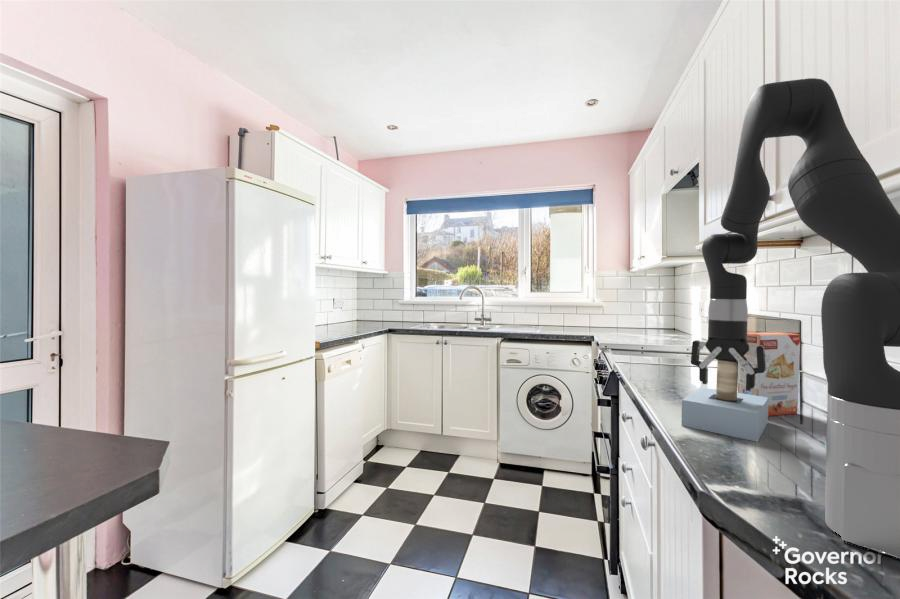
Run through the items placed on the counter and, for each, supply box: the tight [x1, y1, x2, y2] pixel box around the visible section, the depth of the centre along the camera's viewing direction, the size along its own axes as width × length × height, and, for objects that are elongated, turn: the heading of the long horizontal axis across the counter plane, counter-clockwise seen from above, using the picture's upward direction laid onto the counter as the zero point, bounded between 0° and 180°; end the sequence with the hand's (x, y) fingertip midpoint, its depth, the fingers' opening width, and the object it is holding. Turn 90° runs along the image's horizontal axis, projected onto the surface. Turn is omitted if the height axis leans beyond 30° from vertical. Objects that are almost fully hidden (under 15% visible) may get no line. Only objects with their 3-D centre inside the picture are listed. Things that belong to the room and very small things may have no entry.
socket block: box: [681, 386, 769, 442], centre depth 92 cm, size 18×14×6 cm
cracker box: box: [737, 331, 801, 417], centre depth 101 cm, size 14×6×21 cm, turn 105°
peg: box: [715, 360, 739, 403], centre depth 92 cm, size 4×4×14 cm
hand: (726, 386), depth 92 cm, fingers open, 8 cm apart
